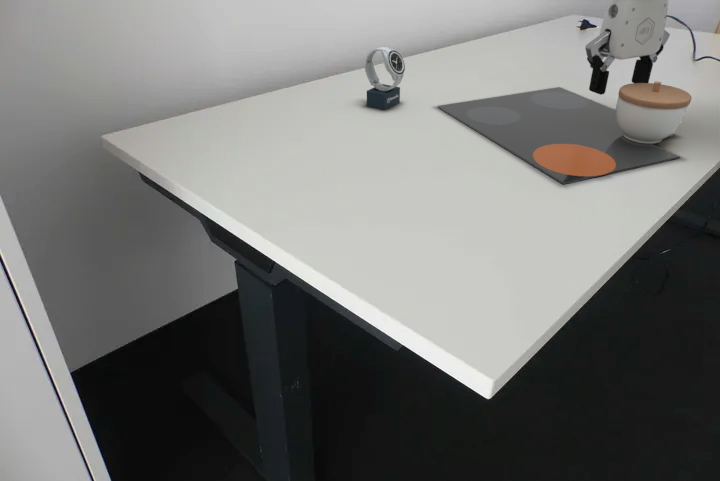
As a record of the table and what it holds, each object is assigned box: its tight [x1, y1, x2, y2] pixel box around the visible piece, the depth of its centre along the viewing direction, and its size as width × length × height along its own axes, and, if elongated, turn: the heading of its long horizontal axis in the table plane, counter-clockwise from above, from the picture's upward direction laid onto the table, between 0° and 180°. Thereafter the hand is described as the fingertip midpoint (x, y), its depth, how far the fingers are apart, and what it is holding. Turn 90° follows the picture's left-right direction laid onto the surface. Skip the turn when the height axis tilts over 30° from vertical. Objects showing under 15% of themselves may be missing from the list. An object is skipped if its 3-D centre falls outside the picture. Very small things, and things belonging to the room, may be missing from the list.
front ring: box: [533, 144, 616, 177], centre depth 85 cm, size 12×12×1 cm
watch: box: [364, 46, 406, 111], centre depth 106 cm, size 6×8×11 cm
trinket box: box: [615, 80, 693, 145], centre depth 90 cm, size 11×11×9 cm
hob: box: [437, 86, 681, 185], centre depth 97 cm, size 30×37×1 cm
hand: (618, 88), depth 96 cm, fingers open, 9 cm apart
